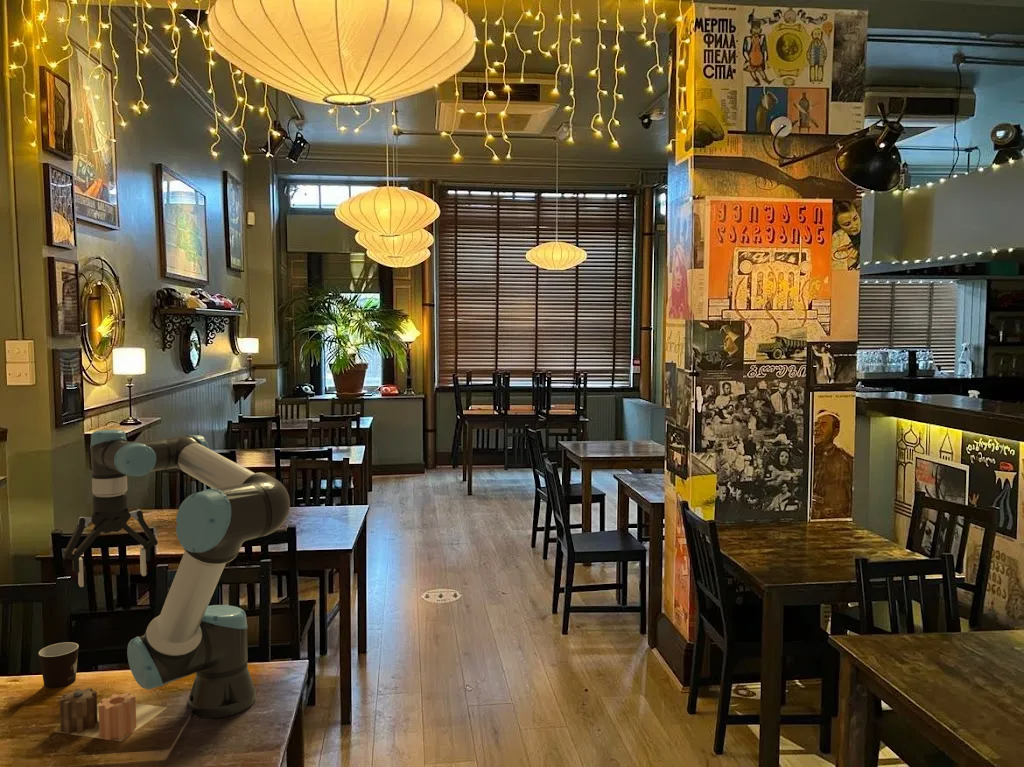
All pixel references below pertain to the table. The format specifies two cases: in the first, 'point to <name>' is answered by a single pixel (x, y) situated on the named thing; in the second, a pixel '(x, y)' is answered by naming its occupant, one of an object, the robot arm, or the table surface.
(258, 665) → the table surface
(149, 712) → the carrier
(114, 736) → the planet gear
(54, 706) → the table surface
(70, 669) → the coffee mug
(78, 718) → the pinned planet gear
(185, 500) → the robot arm
